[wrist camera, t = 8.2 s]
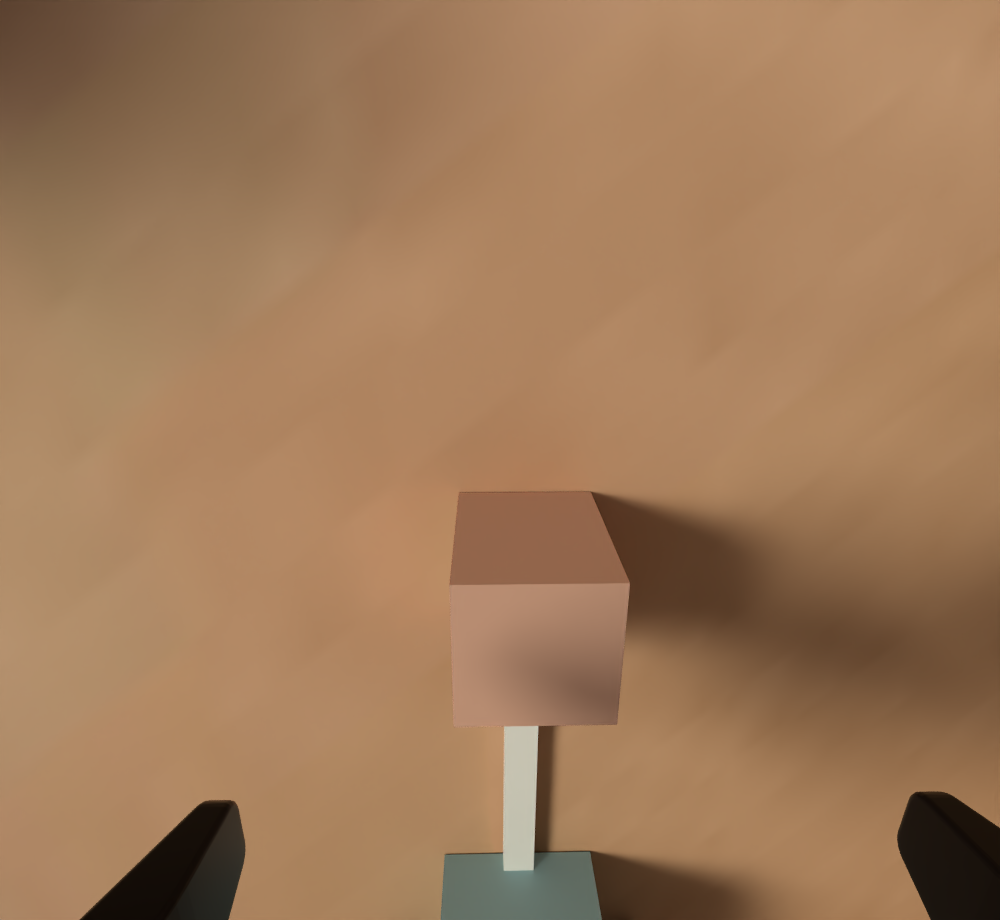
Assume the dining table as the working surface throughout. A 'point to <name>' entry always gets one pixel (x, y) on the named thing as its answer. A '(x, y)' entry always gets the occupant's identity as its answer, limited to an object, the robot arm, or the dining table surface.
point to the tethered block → (531, 678)
